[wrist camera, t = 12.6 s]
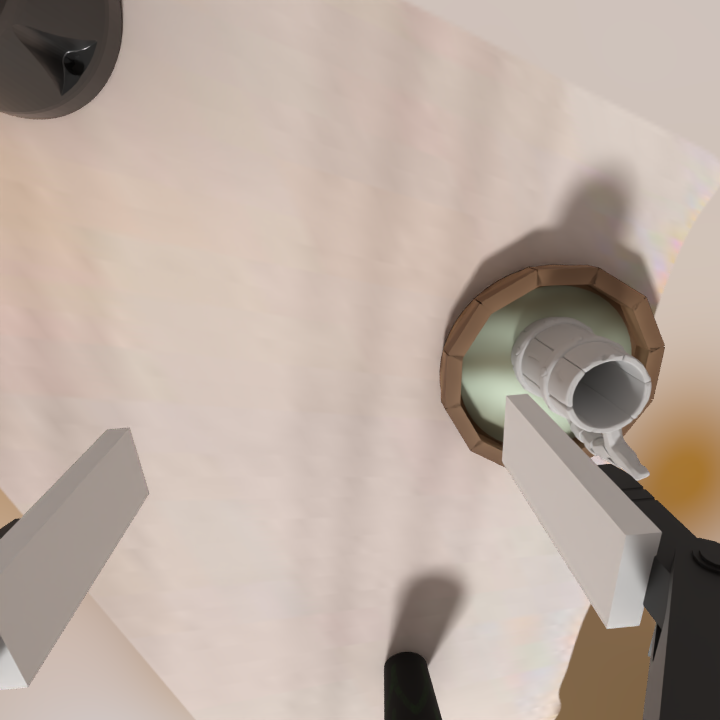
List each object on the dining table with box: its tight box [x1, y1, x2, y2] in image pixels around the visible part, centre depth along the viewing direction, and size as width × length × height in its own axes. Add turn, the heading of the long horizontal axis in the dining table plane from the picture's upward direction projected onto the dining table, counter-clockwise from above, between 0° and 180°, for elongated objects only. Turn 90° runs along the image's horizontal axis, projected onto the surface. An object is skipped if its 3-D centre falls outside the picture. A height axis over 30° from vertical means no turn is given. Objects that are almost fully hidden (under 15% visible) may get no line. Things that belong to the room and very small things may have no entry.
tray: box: [440, 265, 665, 468], centre depth 41 cm, size 20×20×3 cm
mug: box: [511, 317, 652, 481], centre depth 35 cm, size 8×12×12 cm, turn 23°
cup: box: [384, 652, 442, 720], centre depth 50 cm, size 8×8×12 cm
